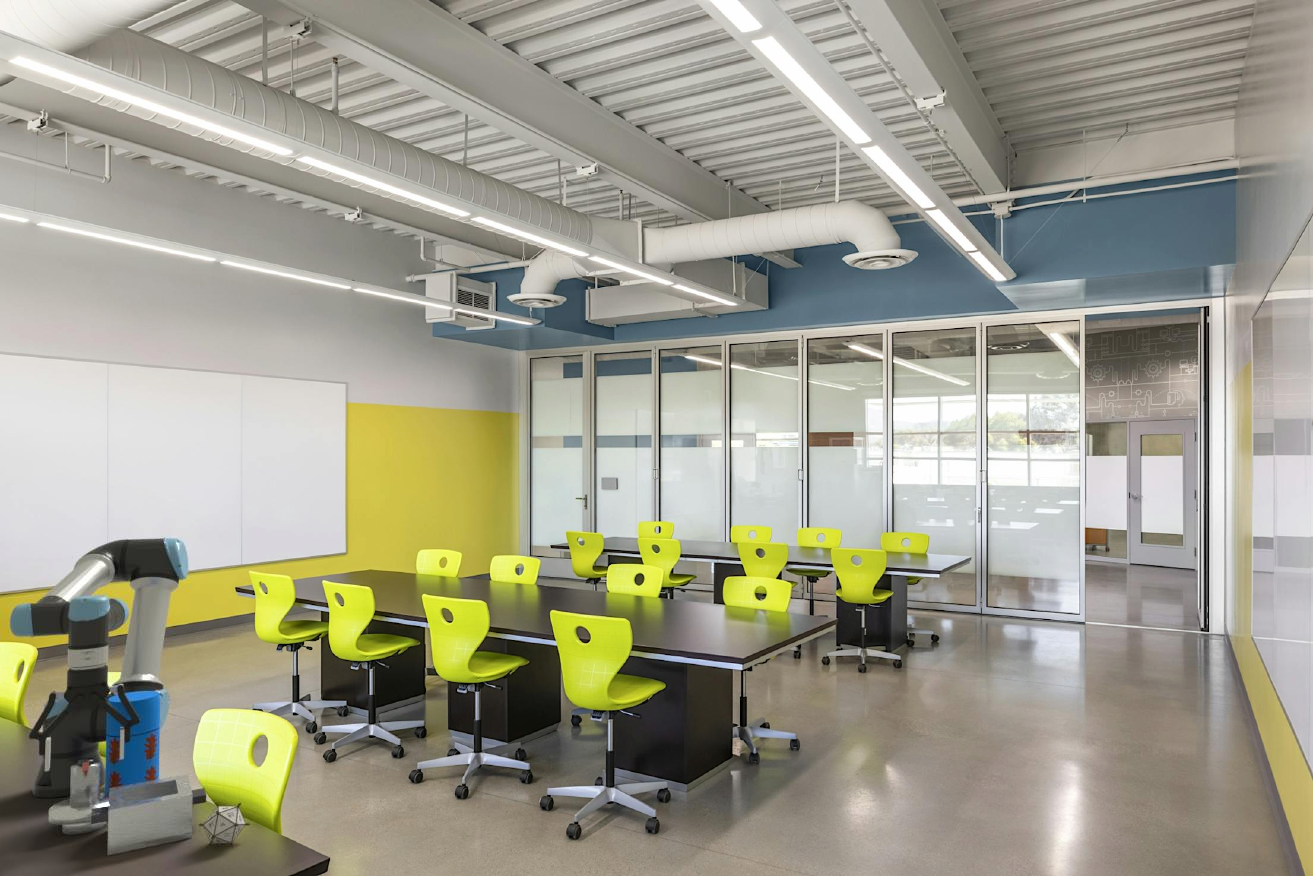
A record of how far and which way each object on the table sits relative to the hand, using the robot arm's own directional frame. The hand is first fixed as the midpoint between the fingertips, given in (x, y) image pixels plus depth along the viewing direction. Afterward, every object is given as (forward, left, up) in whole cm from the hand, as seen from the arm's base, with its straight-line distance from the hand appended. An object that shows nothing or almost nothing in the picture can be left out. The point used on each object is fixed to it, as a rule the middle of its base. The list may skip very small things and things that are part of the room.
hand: (85, 763), depth 185 cm
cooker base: (+13, +12, -14) cm, 22 cm away
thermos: (-10, +9, -14) cm, 20 cm away
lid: (0, 0, -14) cm, 14 cm away
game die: (+28, +25, -14) cm, 40 cm away
